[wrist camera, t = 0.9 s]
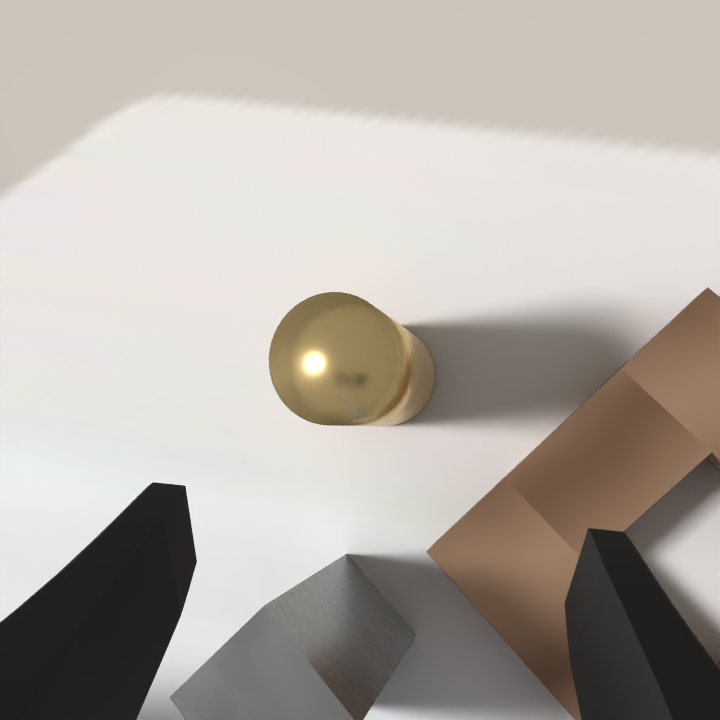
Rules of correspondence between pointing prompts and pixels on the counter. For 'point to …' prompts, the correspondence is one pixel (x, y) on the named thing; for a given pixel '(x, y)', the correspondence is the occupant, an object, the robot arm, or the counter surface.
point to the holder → (588, 489)
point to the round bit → (349, 364)
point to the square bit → (303, 655)
